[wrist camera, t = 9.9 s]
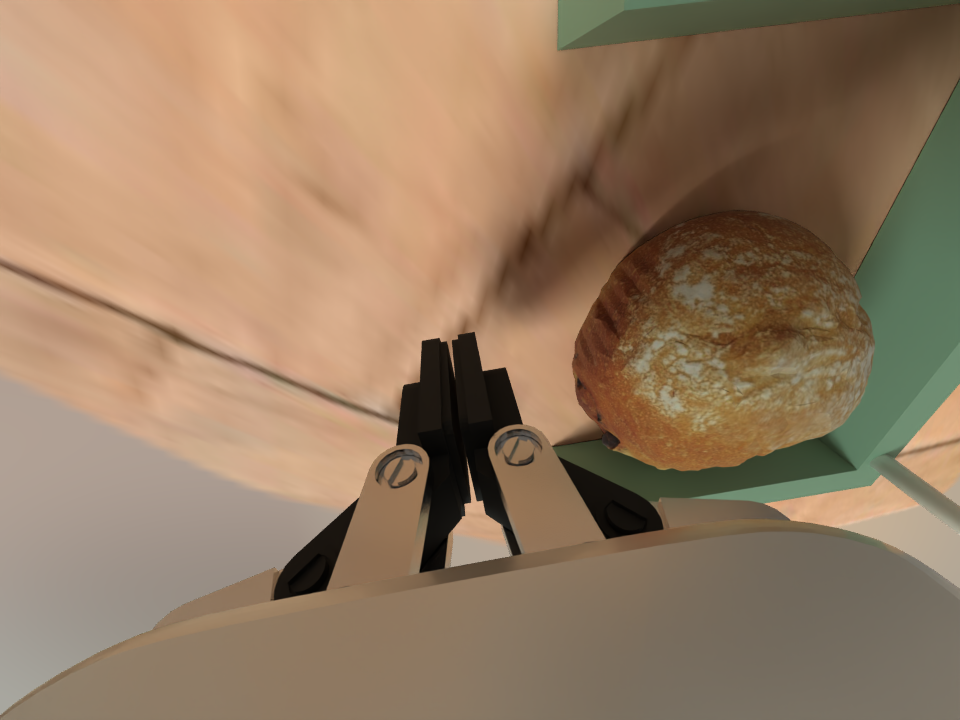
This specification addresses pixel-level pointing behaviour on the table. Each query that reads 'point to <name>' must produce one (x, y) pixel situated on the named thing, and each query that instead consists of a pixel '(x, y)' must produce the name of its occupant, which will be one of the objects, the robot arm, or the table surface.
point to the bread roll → (723, 344)
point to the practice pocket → (881, 277)
